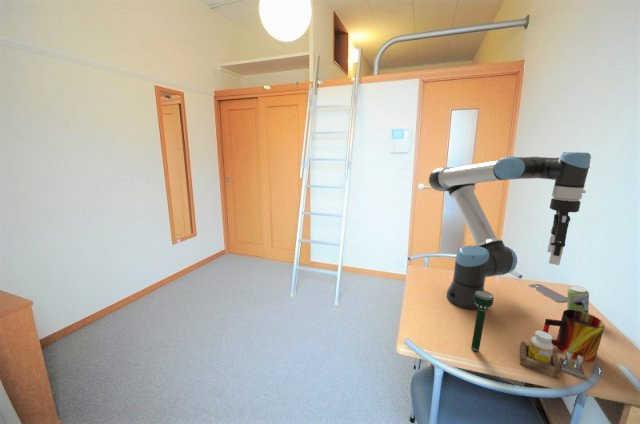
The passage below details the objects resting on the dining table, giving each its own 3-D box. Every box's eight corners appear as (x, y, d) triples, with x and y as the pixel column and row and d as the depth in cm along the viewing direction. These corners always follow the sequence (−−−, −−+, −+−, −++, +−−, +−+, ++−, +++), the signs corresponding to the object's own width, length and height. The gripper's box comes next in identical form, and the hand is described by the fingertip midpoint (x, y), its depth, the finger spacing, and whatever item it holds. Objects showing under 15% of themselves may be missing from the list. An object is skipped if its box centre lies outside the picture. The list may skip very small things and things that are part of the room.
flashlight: (487, 354, 87) (497, 297, 83) (474, 356, 86) (483, 299, 82) (475, 343, 92) (484, 289, 88) (462, 345, 91) (471, 290, 87)
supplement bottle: (551, 371, 81) (558, 342, 79) (529, 365, 83) (536, 338, 81) (544, 358, 86) (551, 331, 84) (524, 353, 88) (530, 327, 86)
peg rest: (561, 370, 81) (564, 356, 80) (559, 360, 85) (562, 346, 84) (584, 378, 79) (588, 363, 77) (580, 367, 83) (584, 353, 81)
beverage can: (591, 322, 105) (599, 293, 102) (569, 319, 106) (576, 291, 104) (579, 312, 111) (586, 285, 108) (558, 310, 112) (565, 283, 110)
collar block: (520, 364, 83) (521, 357, 83) (519, 347, 91) (521, 341, 90) (558, 378, 78) (560, 371, 78) (555, 359, 86) (556, 352, 85)
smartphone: (540, 283, 134) (571, 299, 119) (539, 285, 134) (571, 301, 119) (526, 284, 133) (557, 301, 118) (526, 286, 133) (556, 302, 118)
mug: (538, 345, 92) (545, 313, 89) (569, 338, 95) (577, 307, 93) (570, 366, 83) (579, 332, 80) (603, 359, 86) (613, 325, 83)
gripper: (586, 206, 81) (570, 272, 86) (576, 195, 100) (563, 250, 105) (553, 202, 85) (540, 266, 90) (550, 193, 104) (539, 245, 109)
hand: (552, 257), depth 97 cm, fingers open, 13 cm apart
